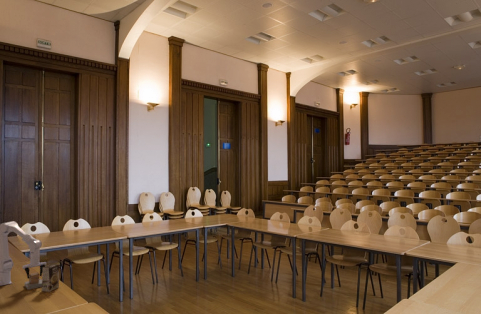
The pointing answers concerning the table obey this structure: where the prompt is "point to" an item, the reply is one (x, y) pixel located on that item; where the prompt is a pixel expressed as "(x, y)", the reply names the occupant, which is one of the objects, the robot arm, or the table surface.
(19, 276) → the table surface
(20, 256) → the table surface
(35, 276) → the walnut block
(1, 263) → the robot arm
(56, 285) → the coffee box
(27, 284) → the grey box
